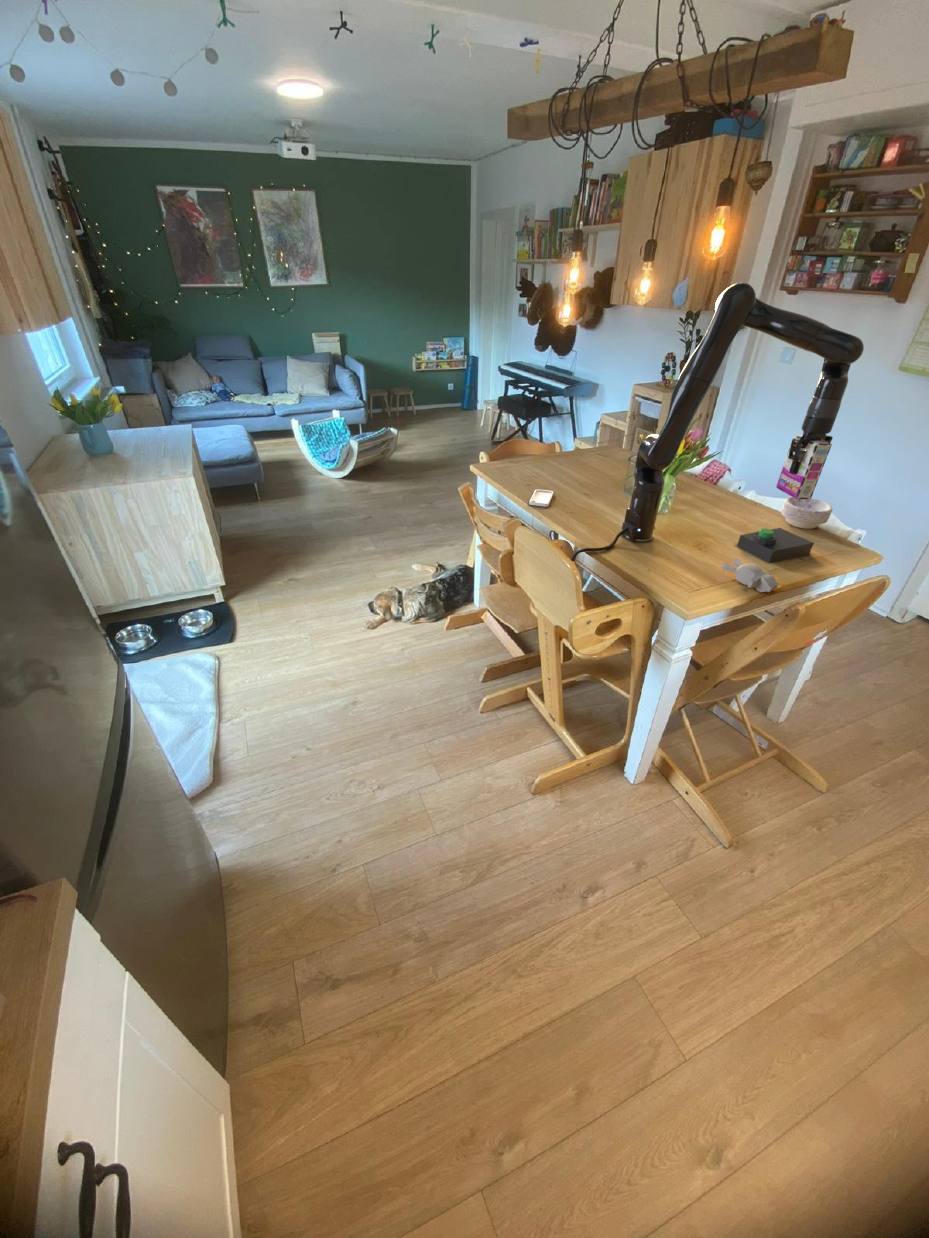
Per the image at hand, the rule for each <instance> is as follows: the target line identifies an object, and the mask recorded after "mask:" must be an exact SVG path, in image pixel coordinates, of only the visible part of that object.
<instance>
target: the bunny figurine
mask: <svg viewBox="0 0 929 1238" xmlns="http://www.w3.org/2000/svg"><path fill="white" fill-rule="evenodd" d="M732 564H734V565H735V566H734V565H732ZM732 564H730V563H726V562H723V563H722V564H721V566H720V568H721V569H722V570H724V571H728V572H732V573H734V575H735V579H736V581H738V582H739V583H740V584H742V585H744V586H747V588H749V589H752V588H755V589H756V591H757V592H760V593H765V592H767V593H770V592H773V591H775V590H776V589H777V588H778V587H779V583H778V582H777V579H776V578H775V577H774V576H773V575H772V573H771V572H769V571H764V570H762V568H761V566H759V565H757V564H755V563H752V562H749V563H743V562H742V561H741V560H740V559H738V558H733V559H732Z"/></svg>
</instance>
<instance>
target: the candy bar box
mask: <svg viewBox="0 0 929 1238" xmlns="http://www.w3.org/2000/svg"><path fill="white" fill-rule="evenodd" d="M802 435H803V434H794V435H793V437H792V440H793V439H794V438H795V439H799V438H801V436H802ZM791 443H792V441H791V442H790V445H789V448H788V451H787V453H786V457H785V460H784V463H783V465H782V469H781V471H780V475H779V477H778V480H777V483H776V486H775V487H776V489H778V490H780V491H781V492H783V493H785V494H787V495H789V497H794V498H795V499H811V498H813V494H814V492H815V489H816V486H817V484H818V482H819V479H820V476H821V474H822V472H823V468H824V466H825V464H826V461H827V458H828V456H829V454H830V451H831V448H832V446H833V444H832V443H827V442H825V441H822V440H821V441H820V440H817V441H809V442H808V445H807V446H806V448H801V449H800V450H802V451H805V450H807V452H806V454H805V455H804V457H803V459H802V461H801V464H800V467H799V470H798V472H797V474H791V473H790V472H789V471H790V467H791V464H792V459H789V458H788V456H789V451H790V447H791ZM794 454H795V452H794V453H793V455H794ZM800 455H801V454H799V457H800Z"/></svg>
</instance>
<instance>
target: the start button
mask: <svg viewBox="0 0 929 1238" xmlns="http://www.w3.org/2000/svg"><path fill="white" fill-rule="evenodd" d="M759 531H760V532H759V534H758V536H759V537H762V538H766V539H772V536H773V534H774V531H772V530H771V529H769V528H760V529H759Z"/></svg>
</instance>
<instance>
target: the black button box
mask: <svg viewBox="0 0 929 1238" xmlns="http://www.w3.org/2000/svg"><path fill="white" fill-rule="evenodd" d="M770 530H772V531H774V534H773V536H772V539H766V538H762V537H759V536H758V534H759V532H760V530H758V531H754V532H750V533H749V532H748V533H743V534H740V535H739V538H738V542H737V545H736V547H738V548H740V549H742V550H744V551H746V552H748V553H749V554H751V555H753V556H755V557H757V558H760V559H761V560H763V561H765V562H767V563H773V562H778V561H784V560H787V559H793V558H797V557H802V556H807V555H810V553H811V551H812V548H813V546H814V544H815V543H814V542H813V541H810V540H809V539H806V538H804V537H802V536H800V535H797V534H795V533H793V532H790V531H789V530H787V529H784V528H781V527H777V528H776V527H775V528H772V529H770Z"/></svg>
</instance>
